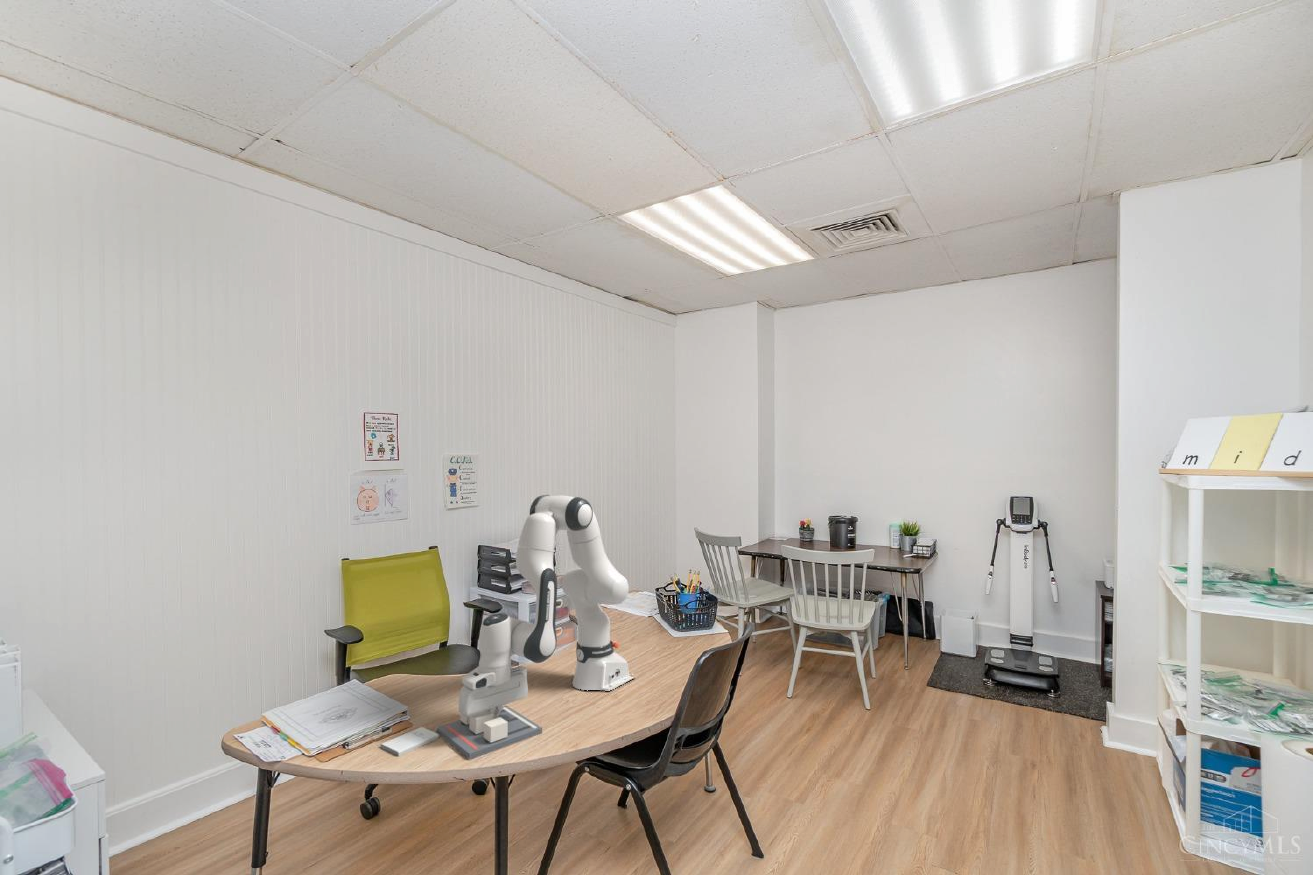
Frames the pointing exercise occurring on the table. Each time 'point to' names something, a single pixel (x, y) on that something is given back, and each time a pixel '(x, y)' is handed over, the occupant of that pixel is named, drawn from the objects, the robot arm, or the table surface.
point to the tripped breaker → (479, 721)
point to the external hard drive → (409, 741)
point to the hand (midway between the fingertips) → (494, 721)
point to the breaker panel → (476, 743)
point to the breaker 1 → (465, 719)
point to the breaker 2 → (495, 729)
